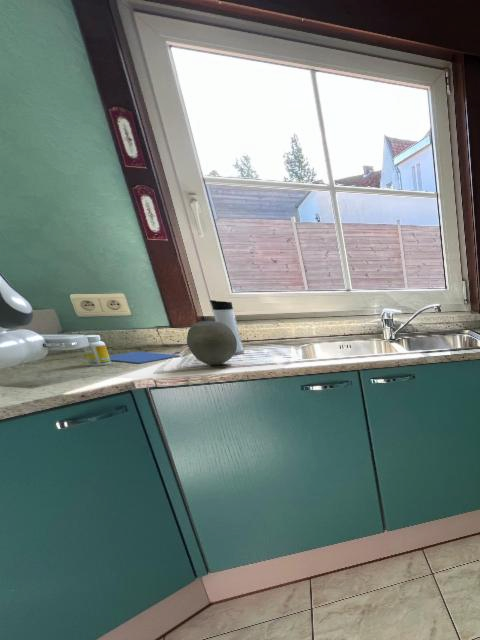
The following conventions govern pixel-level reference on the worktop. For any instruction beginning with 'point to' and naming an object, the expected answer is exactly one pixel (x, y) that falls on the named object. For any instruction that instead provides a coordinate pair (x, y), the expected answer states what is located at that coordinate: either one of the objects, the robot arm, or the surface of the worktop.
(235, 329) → the travel mug
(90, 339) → the supplement bottle
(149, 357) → the blue cloth
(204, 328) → the cantaloupe
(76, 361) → the worktop surface
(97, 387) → the worktop surface
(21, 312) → the robot arm
